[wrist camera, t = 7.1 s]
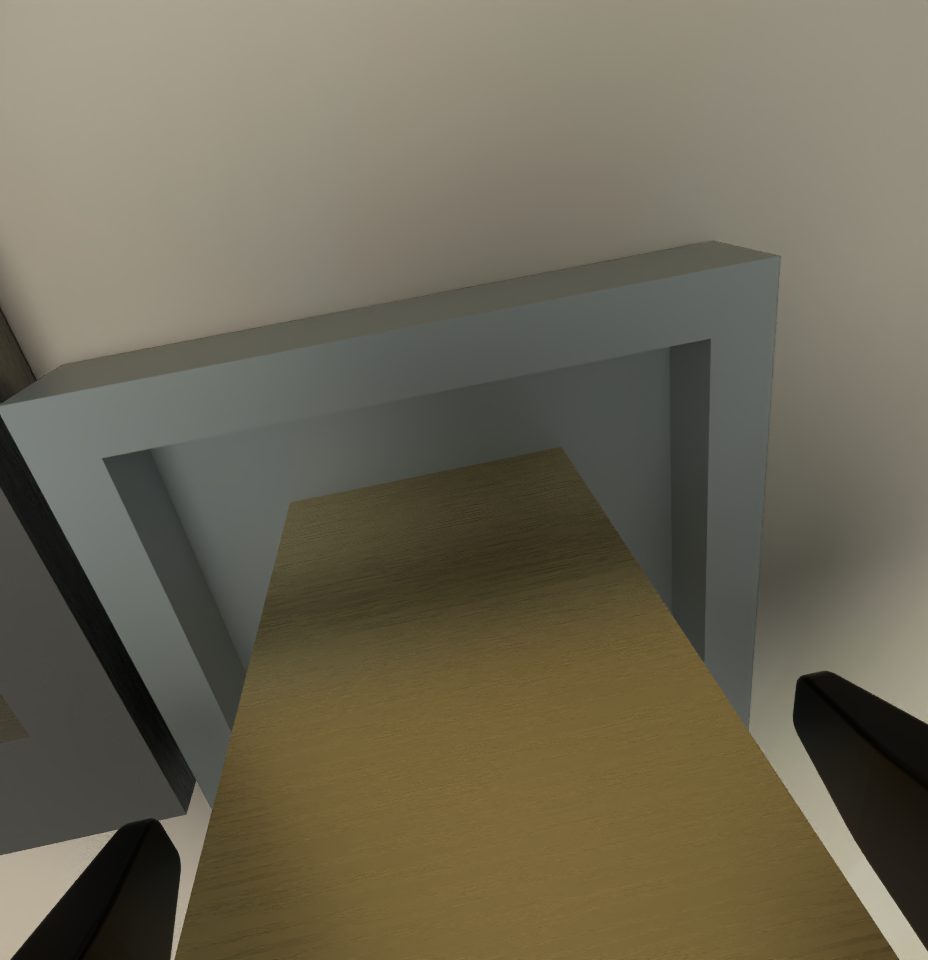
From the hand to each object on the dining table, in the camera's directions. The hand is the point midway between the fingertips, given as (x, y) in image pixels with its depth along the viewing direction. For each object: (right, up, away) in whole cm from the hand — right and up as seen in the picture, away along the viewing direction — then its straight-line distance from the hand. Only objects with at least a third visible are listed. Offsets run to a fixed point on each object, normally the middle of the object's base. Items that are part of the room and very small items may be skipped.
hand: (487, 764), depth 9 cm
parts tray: (-1, +2, +4) cm, 5 cm away
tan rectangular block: (-1, +2, +4) cm, 4 cm away
